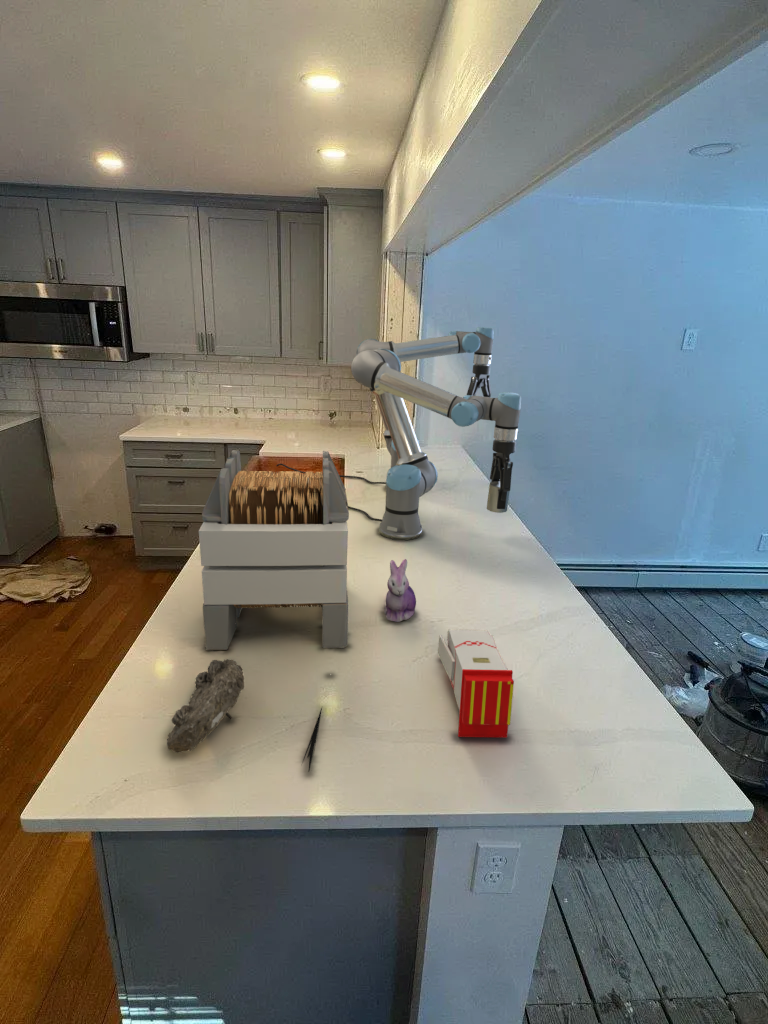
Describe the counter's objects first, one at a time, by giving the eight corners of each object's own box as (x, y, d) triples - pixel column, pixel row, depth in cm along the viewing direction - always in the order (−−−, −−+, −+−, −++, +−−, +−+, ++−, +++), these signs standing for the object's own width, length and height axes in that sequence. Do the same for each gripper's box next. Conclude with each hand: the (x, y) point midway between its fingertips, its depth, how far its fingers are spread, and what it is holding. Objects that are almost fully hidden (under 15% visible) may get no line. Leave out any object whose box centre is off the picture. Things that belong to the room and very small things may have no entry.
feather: (331, 679, 122) (336, 673, 122) (307, 777, 96) (313, 769, 95) (324, 675, 122) (329, 669, 121) (298, 772, 95) (304, 764, 95)
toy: (488, 613, 130) (523, 677, 101) (484, 667, 133) (517, 744, 104) (435, 612, 130) (455, 676, 101) (432, 666, 133) (451, 743, 103)
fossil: (192, 660, 117) (244, 628, 112) (224, 691, 120) (276, 661, 115) (142, 746, 98) (202, 712, 93) (182, 779, 101) (242, 748, 96)
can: (490, 504, 202) (493, 480, 199) (509, 508, 199) (512, 483, 196) (484, 510, 196) (486, 485, 193) (503, 514, 193) (507, 488, 190)
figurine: (392, 627, 141) (395, 572, 136) (374, 608, 149) (376, 556, 144) (425, 619, 145) (429, 566, 140) (405, 601, 154) (408, 550, 149)
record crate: (226, 583, 159) (217, 441, 145) (342, 582, 163) (345, 443, 149) (203, 652, 127) (189, 478, 114) (348, 648, 131) (352, 480, 117)
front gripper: (526, 447, 180) (517, 514, 188) (505, 433, 199) (498, 495, 207) (503, 446, 179) (495, 514, 187) (485, 433, 198) (478, 495, 206)
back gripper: (476, 367, 235) (471, 417, 243) (501, 364, 255) (496, 411, 262) (460, 365, 240) (456, 415, 247) (486, 362, 259) (481, 409, 266)
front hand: (497, 504), depth 197 cm, fingers closed on can, 7 cm apart
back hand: (477, 413), depth 254 cm, fingers open, 13 cm apart
